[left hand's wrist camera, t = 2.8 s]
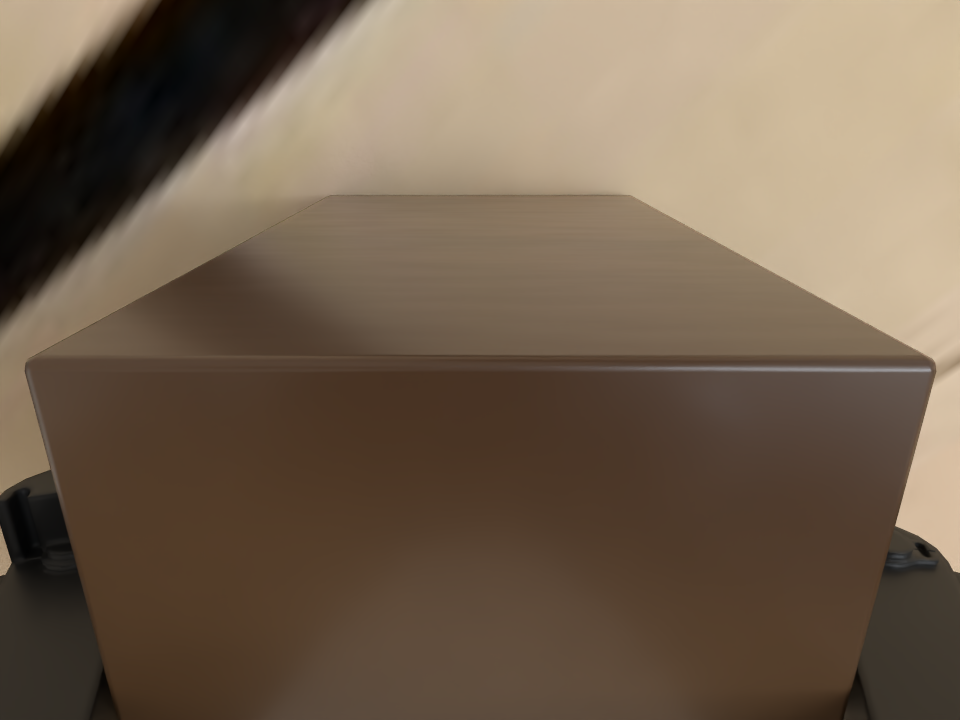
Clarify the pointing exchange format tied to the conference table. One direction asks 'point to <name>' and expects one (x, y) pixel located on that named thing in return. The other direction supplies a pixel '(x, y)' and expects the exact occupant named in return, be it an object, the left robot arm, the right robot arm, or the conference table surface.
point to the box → (480, 472)
